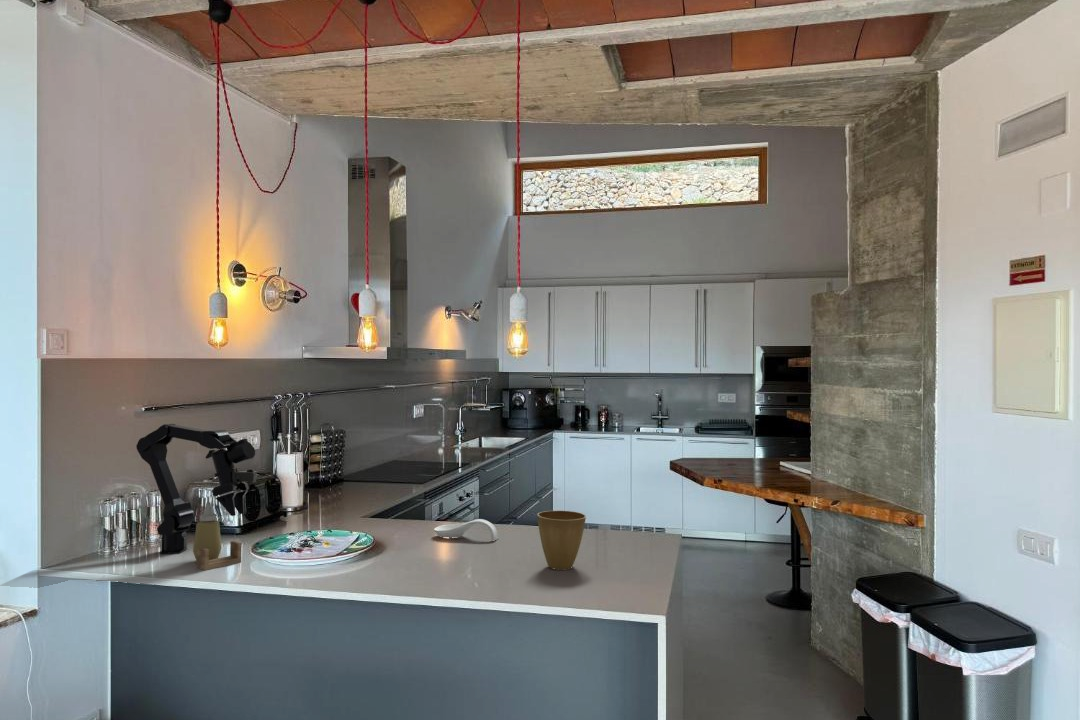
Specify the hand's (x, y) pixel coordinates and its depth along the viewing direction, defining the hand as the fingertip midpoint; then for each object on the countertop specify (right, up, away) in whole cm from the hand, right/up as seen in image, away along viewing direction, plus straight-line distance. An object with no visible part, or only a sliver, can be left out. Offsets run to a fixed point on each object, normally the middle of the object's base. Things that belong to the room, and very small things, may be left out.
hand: (237, 514), depth 227 cm
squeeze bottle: (-7, -13, -7) cm, 16 cm away
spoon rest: (+70, -15, +28) cm, 77 cm away
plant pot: (+103, -14, -9) cm, 104 cm away
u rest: (-1, -13, -11) cm, 17 cm away
